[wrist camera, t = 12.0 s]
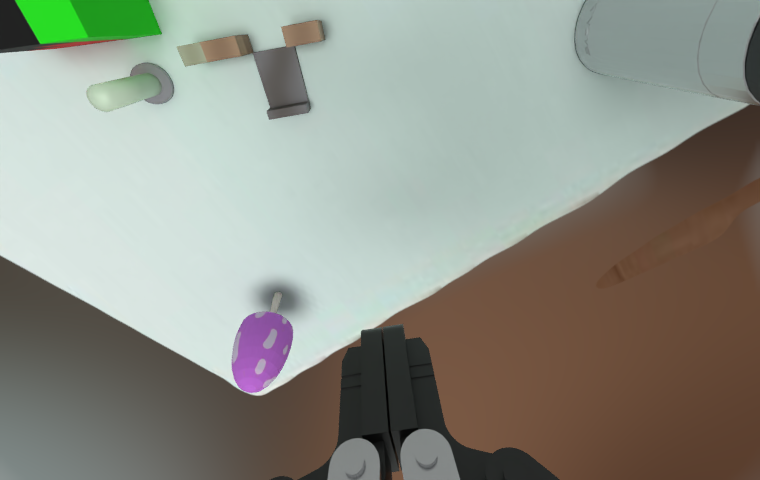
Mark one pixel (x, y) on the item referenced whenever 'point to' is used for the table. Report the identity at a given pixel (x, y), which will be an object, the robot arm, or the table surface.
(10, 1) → the puzzle toy
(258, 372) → the toy
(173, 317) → the table surface
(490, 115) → the table surface
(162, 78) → the goal post
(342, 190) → the table surface
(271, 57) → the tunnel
